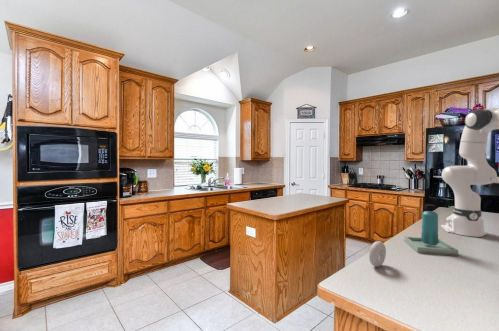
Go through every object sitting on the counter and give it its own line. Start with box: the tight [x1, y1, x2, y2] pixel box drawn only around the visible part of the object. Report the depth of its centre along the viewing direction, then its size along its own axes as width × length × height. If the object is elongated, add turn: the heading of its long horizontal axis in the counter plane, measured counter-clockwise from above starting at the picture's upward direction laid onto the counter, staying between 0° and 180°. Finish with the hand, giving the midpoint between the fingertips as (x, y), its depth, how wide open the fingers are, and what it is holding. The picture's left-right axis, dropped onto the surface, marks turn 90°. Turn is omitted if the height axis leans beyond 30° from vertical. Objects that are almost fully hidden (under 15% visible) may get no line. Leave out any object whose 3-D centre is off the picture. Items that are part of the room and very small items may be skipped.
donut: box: [368, 240, 387, 268], centre depth 99 cm, size 10×4×10 cm, turn 129°
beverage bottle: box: [420, 203, 439, 245], centre depth 119 cm, size 6×7×20 cm
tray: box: [403, 236, 459, 257], centre depth 119 cm, size 16×16×2 cm
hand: (490, 179), depth 106 cm, fingers open, 8 cm apart
